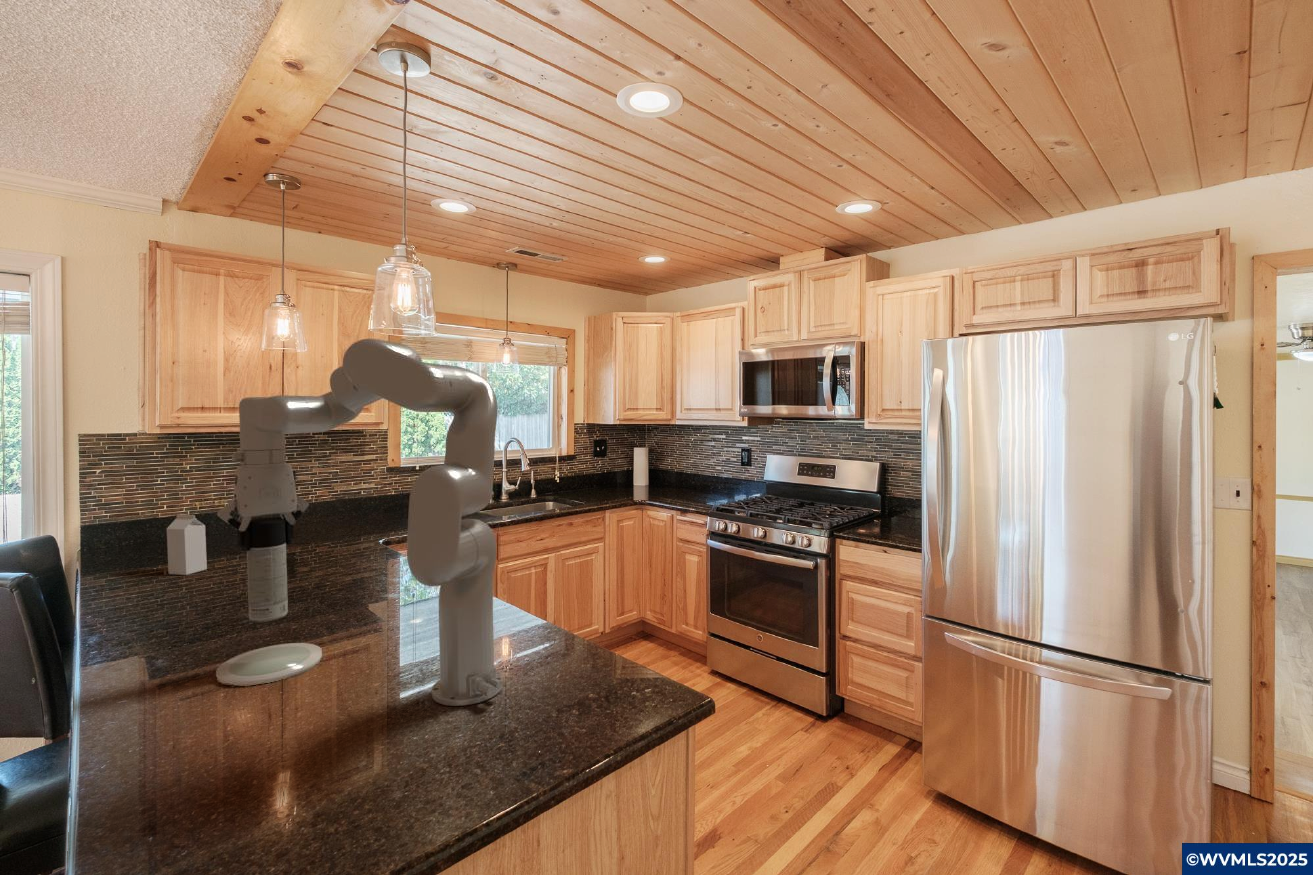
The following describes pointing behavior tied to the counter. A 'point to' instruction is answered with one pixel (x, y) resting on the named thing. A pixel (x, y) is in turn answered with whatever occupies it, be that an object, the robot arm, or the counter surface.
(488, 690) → the robot arm
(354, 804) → the counter surface
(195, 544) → the milk carton
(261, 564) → the spray can
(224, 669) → the dish
